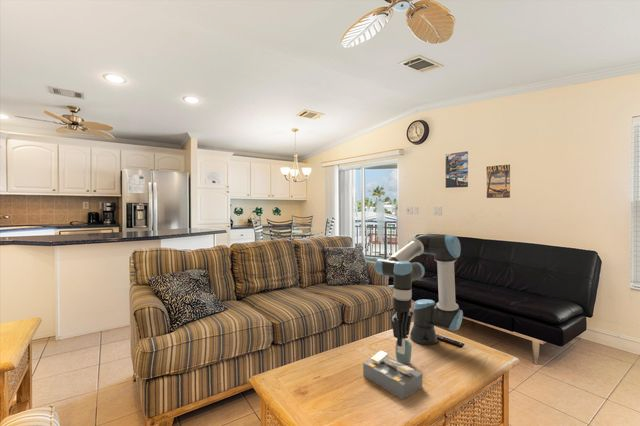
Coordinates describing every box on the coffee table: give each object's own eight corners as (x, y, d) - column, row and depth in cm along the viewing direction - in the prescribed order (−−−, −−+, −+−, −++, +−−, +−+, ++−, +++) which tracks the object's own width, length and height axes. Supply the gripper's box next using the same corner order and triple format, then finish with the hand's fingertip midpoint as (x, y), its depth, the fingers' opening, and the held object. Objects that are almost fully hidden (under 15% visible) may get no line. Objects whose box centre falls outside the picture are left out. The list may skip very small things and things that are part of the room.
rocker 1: (381, 352, 147) (380, 350, 147) (387, 356, 144) (387, 353, 144) (371, 360, 143) (371, 358, 143) (378, 364, 140) (377, 361, 140)
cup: (411, 367, 151) (412, 347, 150) (395, 365, 152) (396, 345, 152) (410, 359, 158) (410, 340, 158) (395, 357, 160) (395, 338, 159)
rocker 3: (406, 368, 137) (406, 365, 137) (413, 372, 133) (414, 369, 134) (396, 369, 132) (397, 366, 132) (404, 373, 129) (405, 370, 129)
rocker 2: (393, 363, 142) (394, 360, 142) (400, 367, 139) (401, 364, 139) (384, 361, 138) (385, 358, 138) (391, 365, 135) (392, 361, 135)
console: (382, 366, 151) (383, 351, 151) (422, 387, 134) (422, 370, 134) (363, 375, 143) (363, 360, 142) (402, 399, 125) (402, 382, 125)
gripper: (404, 293, 137) (403, 345, 138) (385, 298, 129) (384, 353, 130) (418, 297, 131) (417, 351, 132) (400, 303, 123) (398, 361, 124)
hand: (401, 352), depth 131 cm, fingers closed
